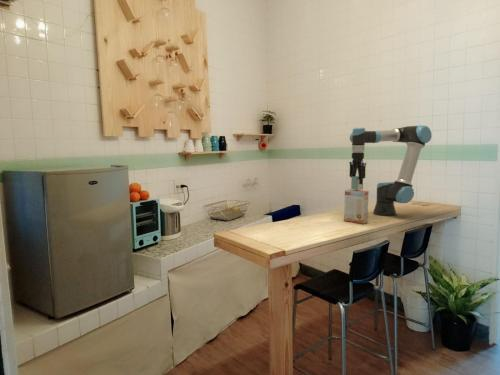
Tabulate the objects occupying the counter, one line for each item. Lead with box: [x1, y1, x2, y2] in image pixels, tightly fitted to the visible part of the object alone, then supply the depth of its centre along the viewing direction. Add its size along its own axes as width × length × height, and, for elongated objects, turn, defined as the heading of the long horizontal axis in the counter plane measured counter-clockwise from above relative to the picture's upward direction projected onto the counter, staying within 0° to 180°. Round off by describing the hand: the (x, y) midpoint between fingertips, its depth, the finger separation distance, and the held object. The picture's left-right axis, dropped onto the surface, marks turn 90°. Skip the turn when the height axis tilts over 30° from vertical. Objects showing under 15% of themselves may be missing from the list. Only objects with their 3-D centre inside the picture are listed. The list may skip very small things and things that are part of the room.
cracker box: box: [343, 188, 370, 225], centre depth 217 cm, size 14×6×21 cm, turn 41°
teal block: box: [351, 175, 364, 190], centre depth 215 cm, size 5×5×8 cm
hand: (356, 188), depth 215 cm, fingers closed on teal block, 5 cm apart
